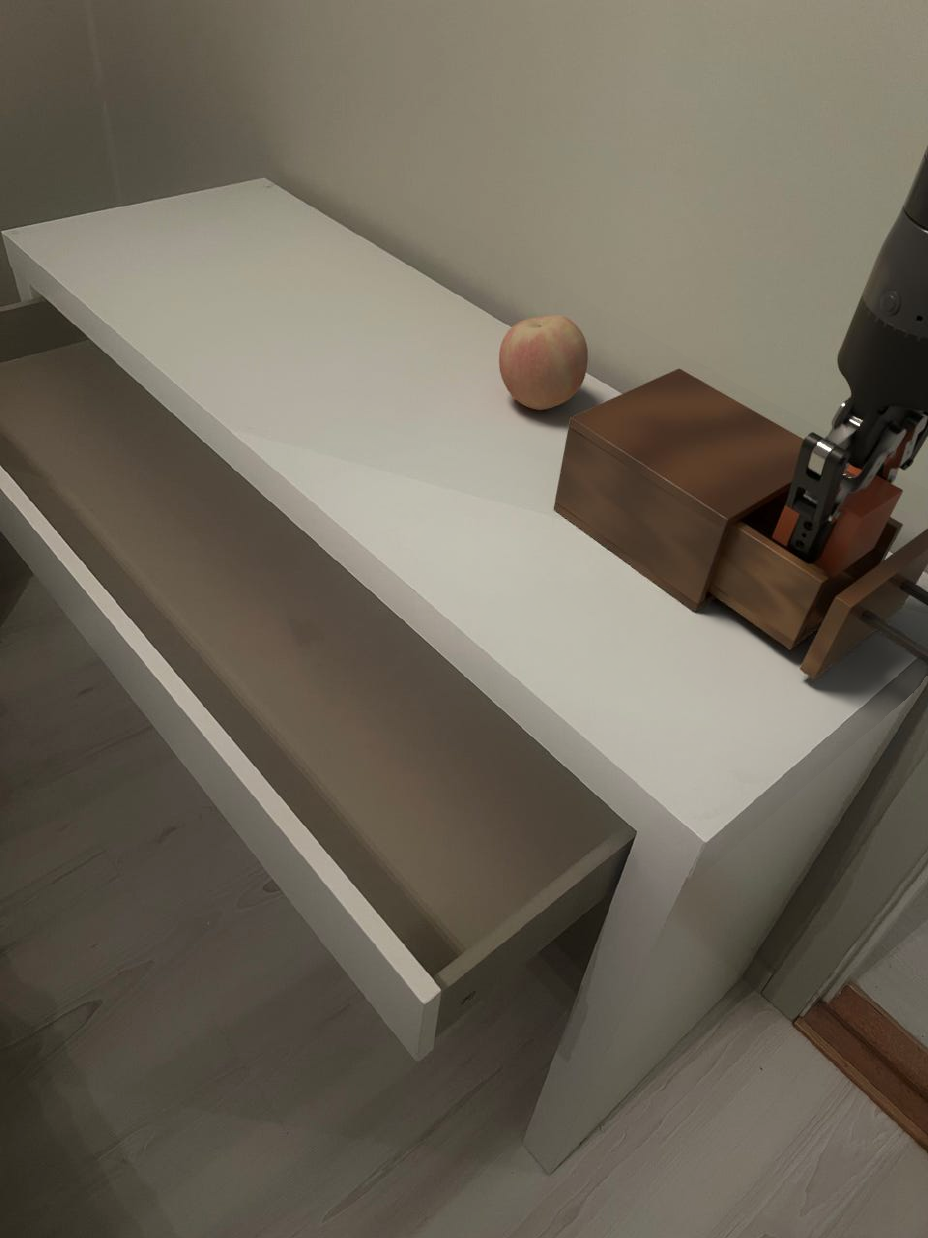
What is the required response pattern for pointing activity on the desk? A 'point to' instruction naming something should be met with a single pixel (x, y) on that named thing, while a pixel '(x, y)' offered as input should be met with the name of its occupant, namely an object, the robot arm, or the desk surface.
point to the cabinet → (671, 477)
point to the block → (850, 525)
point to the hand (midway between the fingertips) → (825, 538)
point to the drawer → (818, 589)
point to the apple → (543, 361)
